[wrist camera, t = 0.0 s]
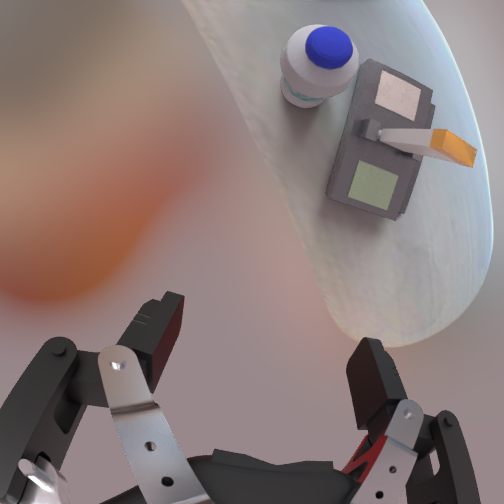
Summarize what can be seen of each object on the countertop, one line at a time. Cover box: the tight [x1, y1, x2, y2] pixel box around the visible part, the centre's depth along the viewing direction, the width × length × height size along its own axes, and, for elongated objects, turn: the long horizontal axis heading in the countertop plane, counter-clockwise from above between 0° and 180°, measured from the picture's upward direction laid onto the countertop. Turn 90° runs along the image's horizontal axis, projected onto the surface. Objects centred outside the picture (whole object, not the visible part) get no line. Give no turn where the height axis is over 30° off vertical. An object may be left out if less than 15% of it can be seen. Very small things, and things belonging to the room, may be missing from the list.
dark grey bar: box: [399, 103, 435, 214], centre depth 33 cm, size 18×2×1 cm, turn 166°
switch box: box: [325, 59, 433, 221], centre depth 30 cm, size 20×10×7 cm, turn 166°
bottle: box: [280, 24, 359, 108], centre depth 22 cm, size 7×7×20 cm
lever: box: [377, 129, 477, 168], centre depth 22 cm, size 2×4×15 cm, turn 76°
